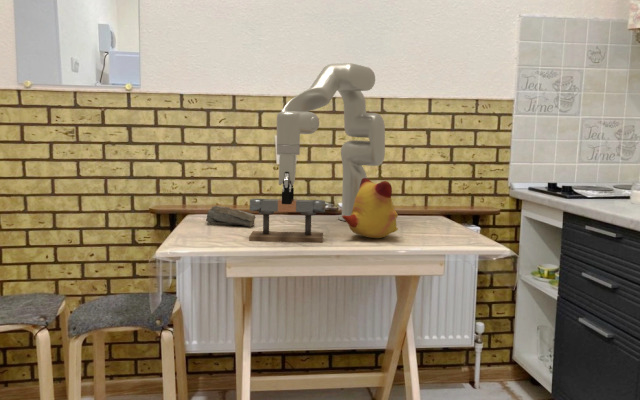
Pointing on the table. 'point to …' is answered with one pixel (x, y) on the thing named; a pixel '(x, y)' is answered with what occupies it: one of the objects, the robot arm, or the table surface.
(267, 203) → the two-ball handle bar
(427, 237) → the table surface
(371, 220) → the toy
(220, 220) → the rock
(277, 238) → the rack
